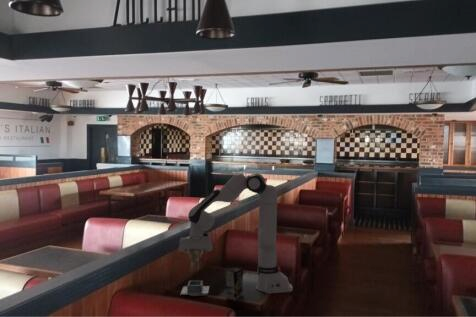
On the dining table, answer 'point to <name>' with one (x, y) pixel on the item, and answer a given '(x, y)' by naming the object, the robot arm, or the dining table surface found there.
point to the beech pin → (194, 259)
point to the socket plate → (195, 289)
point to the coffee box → (234, 283)
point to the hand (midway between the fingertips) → (194, 256)
